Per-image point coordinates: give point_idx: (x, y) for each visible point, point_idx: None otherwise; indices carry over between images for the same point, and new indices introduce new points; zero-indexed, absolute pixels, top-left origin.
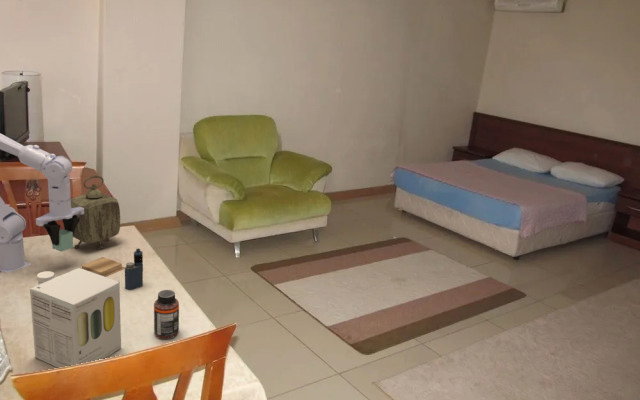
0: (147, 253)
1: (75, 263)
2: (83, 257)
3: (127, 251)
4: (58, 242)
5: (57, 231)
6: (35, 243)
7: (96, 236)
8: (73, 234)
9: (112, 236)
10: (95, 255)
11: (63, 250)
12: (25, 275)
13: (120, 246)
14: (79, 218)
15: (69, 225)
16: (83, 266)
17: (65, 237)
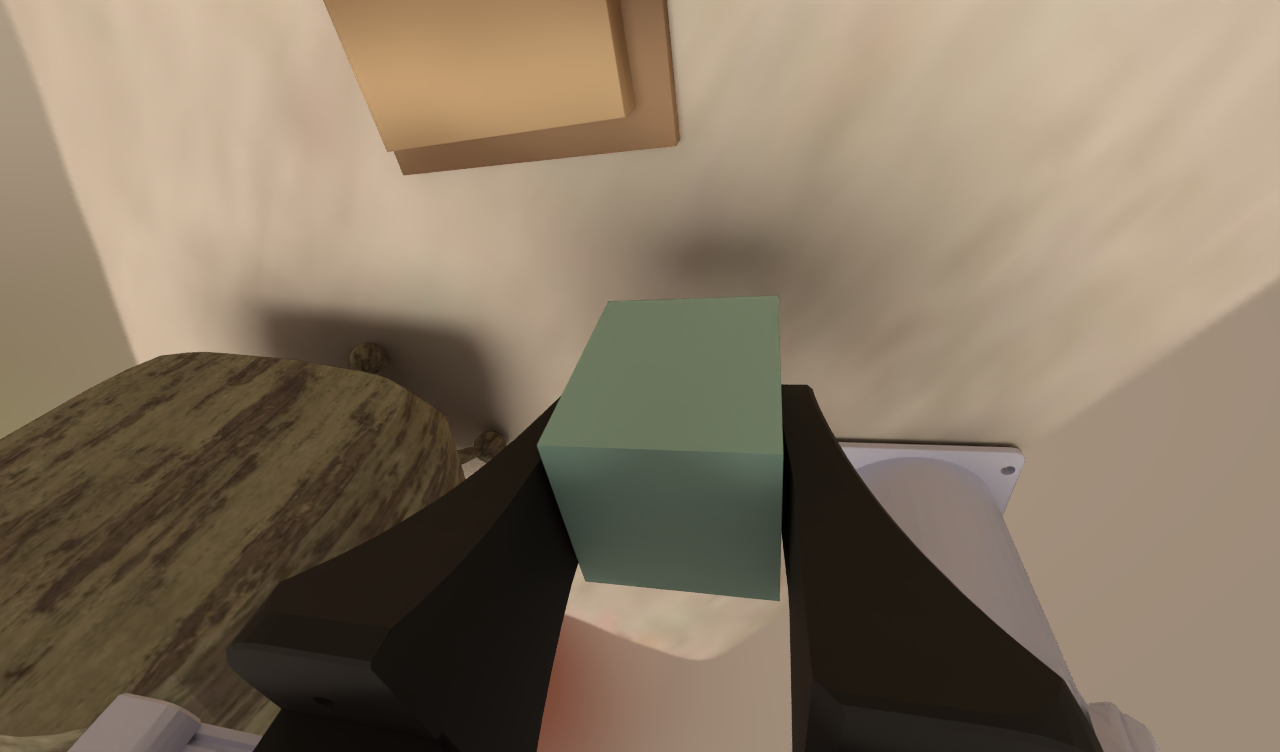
0: (43, 41)
1: (596, 287)
2: (509, 328)
3: (208, 199)
4: (789, 402)
5: (849, 557)
6: (629, 591)
7: (322, 396)
8: (528, 427)
9: (220, 355)
10: (430, 300)
11: (746, 301)
12: (962, 363)
13: (248, 302)
14: (231, 643)
15: (512, 585)
16: (622, 84)
17: (686, 411)
